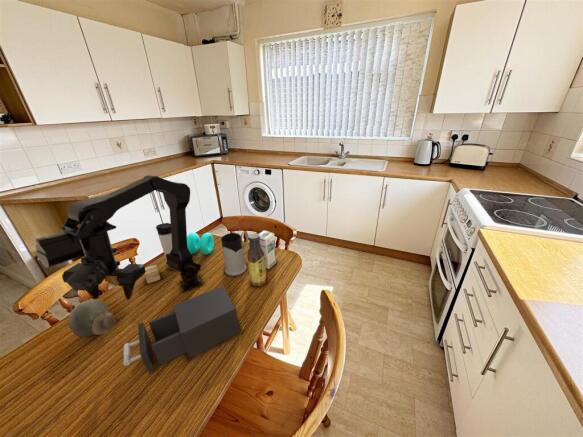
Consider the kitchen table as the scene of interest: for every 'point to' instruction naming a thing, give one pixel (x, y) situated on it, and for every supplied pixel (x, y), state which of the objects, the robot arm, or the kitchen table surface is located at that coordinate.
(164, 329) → the open drawer
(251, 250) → the sauce bottle
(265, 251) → the syrup box
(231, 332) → the dark grey box
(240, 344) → the kitchen table surface
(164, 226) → the travel mug
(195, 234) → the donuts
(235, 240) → the grey black mug
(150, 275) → the block
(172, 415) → the kitchen table surface
